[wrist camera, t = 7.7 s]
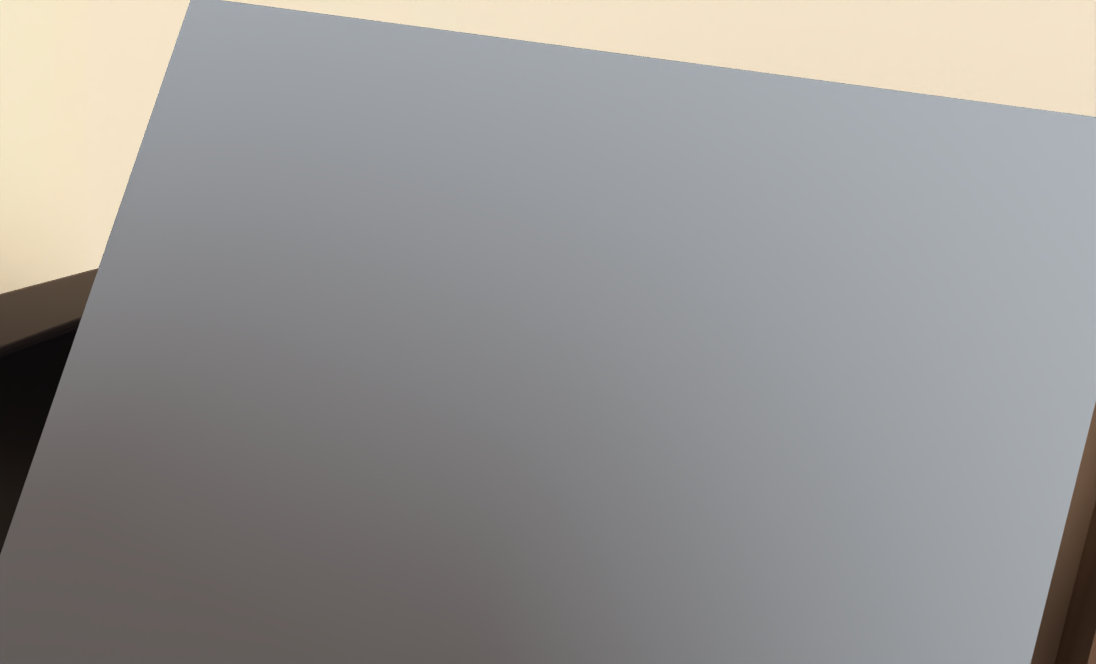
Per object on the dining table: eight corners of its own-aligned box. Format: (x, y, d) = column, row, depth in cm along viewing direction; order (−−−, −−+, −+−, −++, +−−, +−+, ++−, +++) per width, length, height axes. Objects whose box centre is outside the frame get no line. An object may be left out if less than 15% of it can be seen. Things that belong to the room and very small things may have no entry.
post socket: (1154, 1141, 13) (1229, 1344, 10) (382, 761, 17) (258, 812, 14) (1360, 253, 14) (1491, 168, 11) (578, 121, 18) (504, 34, 15)
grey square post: (909, 725, 14) (824, 1488, 3) (640, 625, 15) (-103, 852, 4) (980, 447, 14) (1162, 125, 3) (711, 376, 16) (192, -3, 5)
